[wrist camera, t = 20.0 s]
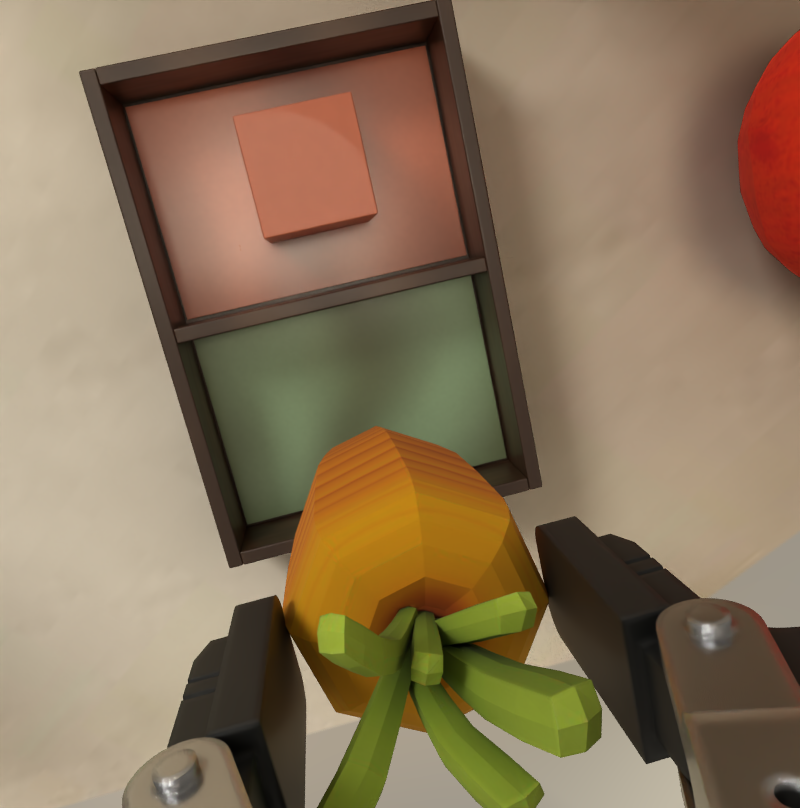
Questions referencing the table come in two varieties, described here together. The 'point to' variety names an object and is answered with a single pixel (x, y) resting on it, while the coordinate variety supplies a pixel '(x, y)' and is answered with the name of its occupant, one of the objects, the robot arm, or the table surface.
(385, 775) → the carrot
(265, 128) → the terracotta block
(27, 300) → the table surface
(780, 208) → the apple
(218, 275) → the sorting tray
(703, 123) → the table surface
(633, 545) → the robot arm
